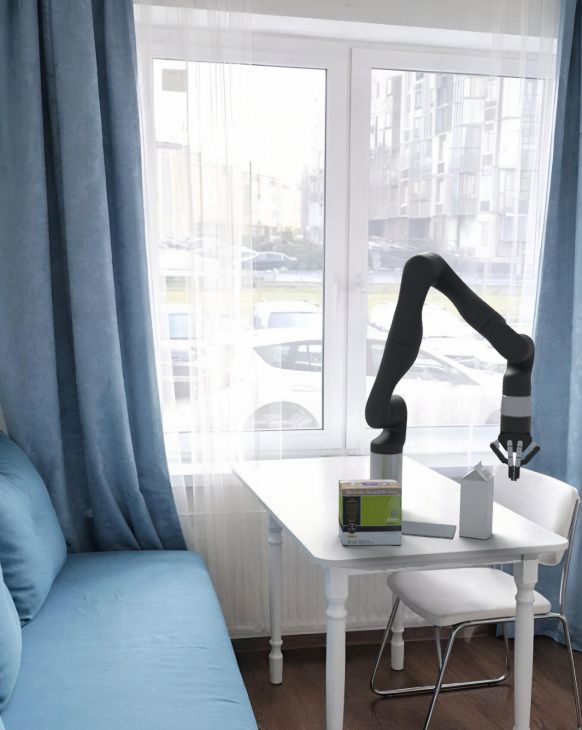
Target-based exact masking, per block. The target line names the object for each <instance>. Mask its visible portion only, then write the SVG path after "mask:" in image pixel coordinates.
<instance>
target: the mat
mask: <svg viewBox="0 0 582 730" xmlns="http://www.w3.org/2000/svg"><path fill="white" fill-rule="evenodd" d="M456 527H457V525H456V524H454V525H453V524H445V523H433V522H422V521H408V520H402V536H403V535H405V536H417V537H426V538H437V539H447V538H449V540H453V539H454V535H455V532H456V531H455V530H456Z"/></svg>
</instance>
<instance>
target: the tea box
mask: <svg viewBox="0 0 582 730" xmlns="http://www.w3.org/2000/svg"><path fill="white" fill-rule="evenodd" d="M402 496H403V487H402V488H401V487H400V486H399V484H398V483H397V482H396V480H395V479H375V480H370V479H339V480H338V534H339V538H340V541H341V544H342V546H383V545H384V546H385V545H387V546H393V545H395V546H396V545H397V546H398V545H399V546H401V545H402V540H403V539H402V537H403V534H402V521H403V515H402V514H403V513H402V511H403V506H402V505H403V499H402V498H403V497H402Z"/></svg>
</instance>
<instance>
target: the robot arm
mask: <svg viewBox="0 0 582 730" xmlns="http://www.w3.org/2000/svg"><path fill="white" fill-rule="evenodd" d="M431 288H434V289H435V290H437V291H438V292H440V293H441V294H443V295H444V296H445V297H446V298H448V300H449V301H450V302H451V303H452V305H453V306H454V307H455V309H456V311H457V312H458V314H459V315H460V317H462V319H463V320H464V321H465V322H466V324H467V325H468V326H470V327H471V328H472V329H473V330H474V331H476V332H477V333H478V334H479V335H480V336H481V337H482V338H484V339H485V340H487V342H488V343H489V344H490V345H491V347H492V348H493V349H494V350H495V351H496V352H497V353H498V354H499V355H500V356H501V357H502V358H503V359H505V360H506V369H505V373H504V374H503V377H502V385H501V386H502V392H501V401H500V411H499V412H500V418H499V419H500V423H499V434H498V435H497V438H496V439H495V440H494V441H491V442H490V443H489V448H490V449H491V450H492V452H493V453H494V454H495V456H496V457H497V459H498V460H499V461H500V462H501V463H502V464H503V465H504V464H505V465H507V466H508V467H507V468H508V469H507V470H508V472H507V475H508V476H507V477H508V479H510V481H512V482H517V480H519V479H520V477H521V475H520V474H521V467H522V466H524V465H525V466H526V465H528V464H529V462H531V460H532V459H533V458H534V457H535V456H536V455H537V454H538V453H539V452H540V450H541V445H540V444H538V443H536V442H535V441H534V440H533V437H532V435H531V434H532V432H531V431H532V413H533V411H532V407H533V406H532V405H533V404H532V373H533V368H534V362H535V354H536V346H535V342H534V340H533V338H531V337H530V335H528V334H526V333H518V332H517V331H516V330H514V328H512V327H511V326H510V325H509V324H507V320H506V318H505V317H503V315H501V314H500V313H499V312H498V311H497V310H495V308H493V307H492V306H491V305H490V304H488V303H487V302H485V300H484V299H482V298H481V296H479V295H477V293H476V292H475V291H473V289H471V288H470V287H469V286H468V285H467V284H466V283H465V281H463V279H462V278H461V277H460V276H459V275H458V274H457V273H456V272H455V271H454V269H453V268H452V267H451V266H450V264H449V263H448V262H447V261H446V260H445V259H444V258H443V256H441V255H440V254H439V253H437V252H435V251H424V252H420V253H416V254H414V255H411V256H409V258H408V259H407V260H406V261H405V263H404V266H403V269H402V274H401V279H400V287H399V292H398V296H397V297H398V298H397V301H396V305H395V308H394V309H395V310H394V313H393V317H392V319H391V320H392V321H391V323H390V327H389V330H388V333H387V337H386V341H385V345H384V349H383V353H382V356H381V361H380V364H379V368H378V370H377V373H376V377H375V379H374V382H373V385H372V387H371V390H370V392H369V395H368V397H367V400H366V403H365V408H364V419H365V422H366V424H367V426H368V427H369V428H371V429H373V430H374V429H375V430H380V429H381V430H382V431H381V432H380V434H379V435H378V436H377V437H375V438H374V439H372V440H371V442H370V445H369V447H370V448H369V449H370V451H369V480H375V479H395V480H396V482H397V483H398V484H399V486H400V487H401V488H402V489H403V464H404V463H403V462H404V461H403V459H404V457H403V455H404V454H403V452H404V445H405V443H406V439H407V428H408V407H407V403H406V401H405V399H404V398H403V397H402V396H401V395H398V394H394V391H395V389H396V386H397V385H398V384H399V382H400V381H401V380H402V378H403V377H404V376H405V375H406V373H408V371H410V369H411V368H412V366H413V365H414V363H415V362H416V360H417V358H418V356H419V351H420V349H421V345H422V342H423V337H424V336H423V335H424V327H423V311H424V310H423V308H424V305H425V302H426V299H427V296H428V293H429V290H430V289H431ZM501 446H502V448H503V449H504V451H505V452H507V457H505V455H504V453H503V452H502V451H501V450H500V447H501ZM529 446H530V447H529ZM528 448H529V450H530V451H529V452H528V453H527V454H526V455H525V456H524V457H523V458H522V453H524V452H525V451H526V450H527V449H528ZM514 453H515V460H514Z"/></svg>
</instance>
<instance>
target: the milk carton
mask: <svg viewBox="0 0 582 730" xmlns="http://www.w3.org/2000/svg"><path fill="white" fill-rule="evenodd" d="M494 489H495V476H494V475H493V474H492V472H491V470H490V469H489V468H488V467H485V466H484V465H483V464H482V460H479V461H478V462H476V463H475V465H474V469H472V470H470V471H469V472H467V474H465V475H464V476H463V477H462V478H461V479H460V491H459V493H460V495H459V497H460V498H459V522H458V523H459V525H458V526H459V528H458V536H460V537H465V538H472V539H473V538H474V539H477V540H478V539H479V540H486V539H489V537H490V536H491V535H492V533H493V521H494V520H493V517H494V515H493V514H494V492H495V491H494Z"/></svg>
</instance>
